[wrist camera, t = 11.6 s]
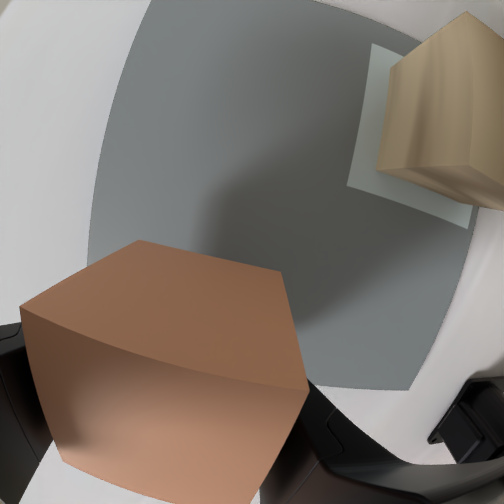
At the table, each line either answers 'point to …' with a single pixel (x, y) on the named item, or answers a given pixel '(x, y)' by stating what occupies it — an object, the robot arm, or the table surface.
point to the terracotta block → (168, 372)
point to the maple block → (449, 115)
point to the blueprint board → (283, 175)
